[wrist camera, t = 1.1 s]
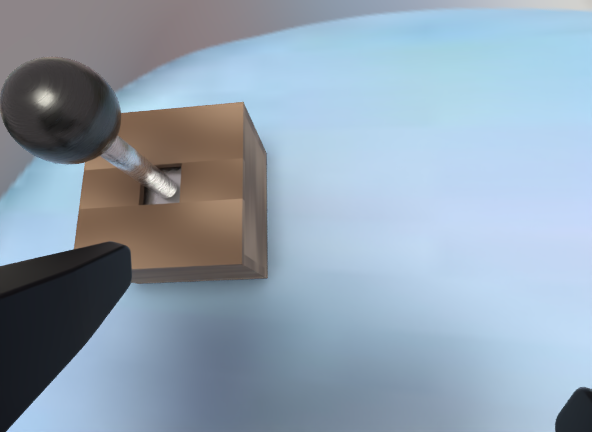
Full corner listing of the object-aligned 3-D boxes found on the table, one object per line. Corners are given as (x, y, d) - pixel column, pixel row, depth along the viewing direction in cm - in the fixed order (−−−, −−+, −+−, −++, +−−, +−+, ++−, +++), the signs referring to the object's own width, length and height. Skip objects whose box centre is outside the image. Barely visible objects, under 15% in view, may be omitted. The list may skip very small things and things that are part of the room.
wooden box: (267, 278, 22) (241, 264, 17) (138, 283, 23) (70, 271, 17) (266, 153, 24) (243, 102, 19) (147, 162, 25) (91, 116, 20)
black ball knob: (227, 247, 18) (117, 177, 9) (108, 253, 19) (-103, 193, 10) (229, 132, 20) (137, -21, 11) (119, 141, 20) (-53, 4, 11)
